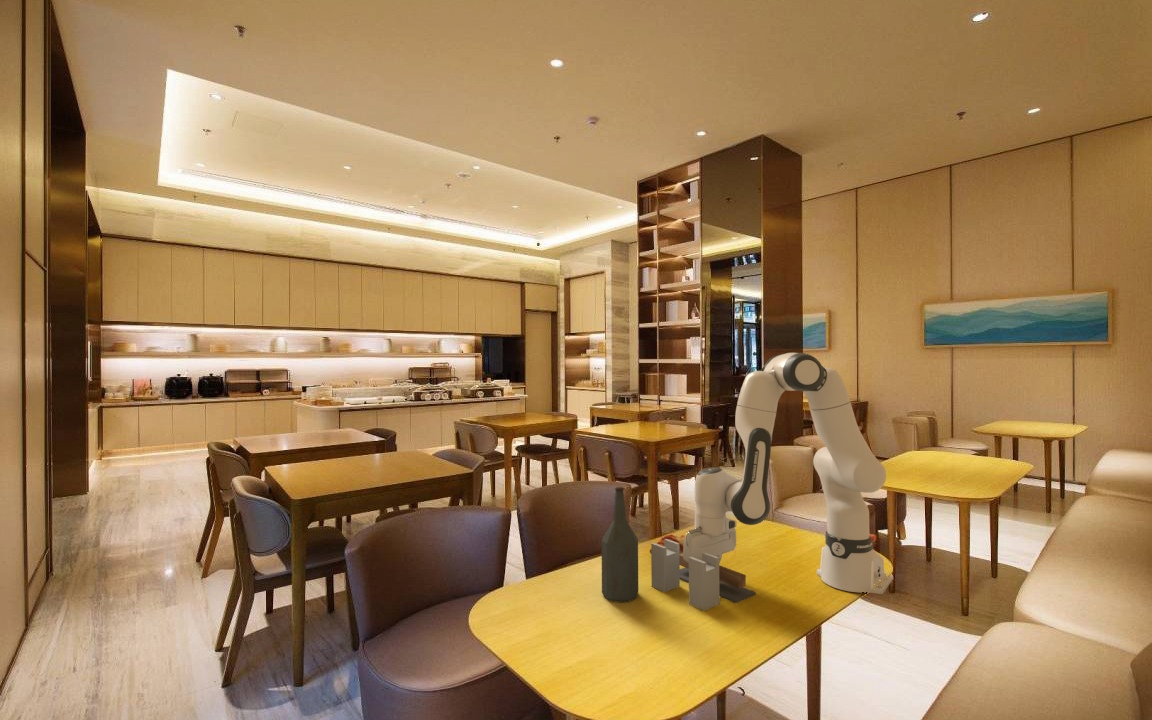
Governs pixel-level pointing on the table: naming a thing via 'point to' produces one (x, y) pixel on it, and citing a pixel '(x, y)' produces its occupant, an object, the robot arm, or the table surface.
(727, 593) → the mat
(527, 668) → the table surface
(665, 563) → the post
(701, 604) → the post
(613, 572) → the bottle
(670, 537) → the croissant
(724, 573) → the rail
